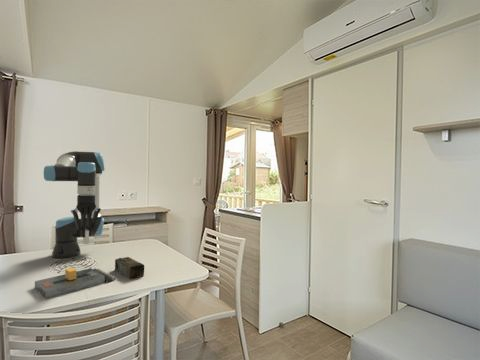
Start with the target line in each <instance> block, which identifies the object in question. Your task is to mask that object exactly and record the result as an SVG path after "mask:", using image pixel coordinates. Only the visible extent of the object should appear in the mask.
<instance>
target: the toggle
mask: <svg viewBox="0 0 480 360" xmlns="http://www.w3.org/2000/svg"><path fill="white" fill-rule="evenodd" d="M64 272H65V278H66V279H68V280H73V279H76V272H77V269H76V268H74V267H69V268H65V270H64Z"/></svg>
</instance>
